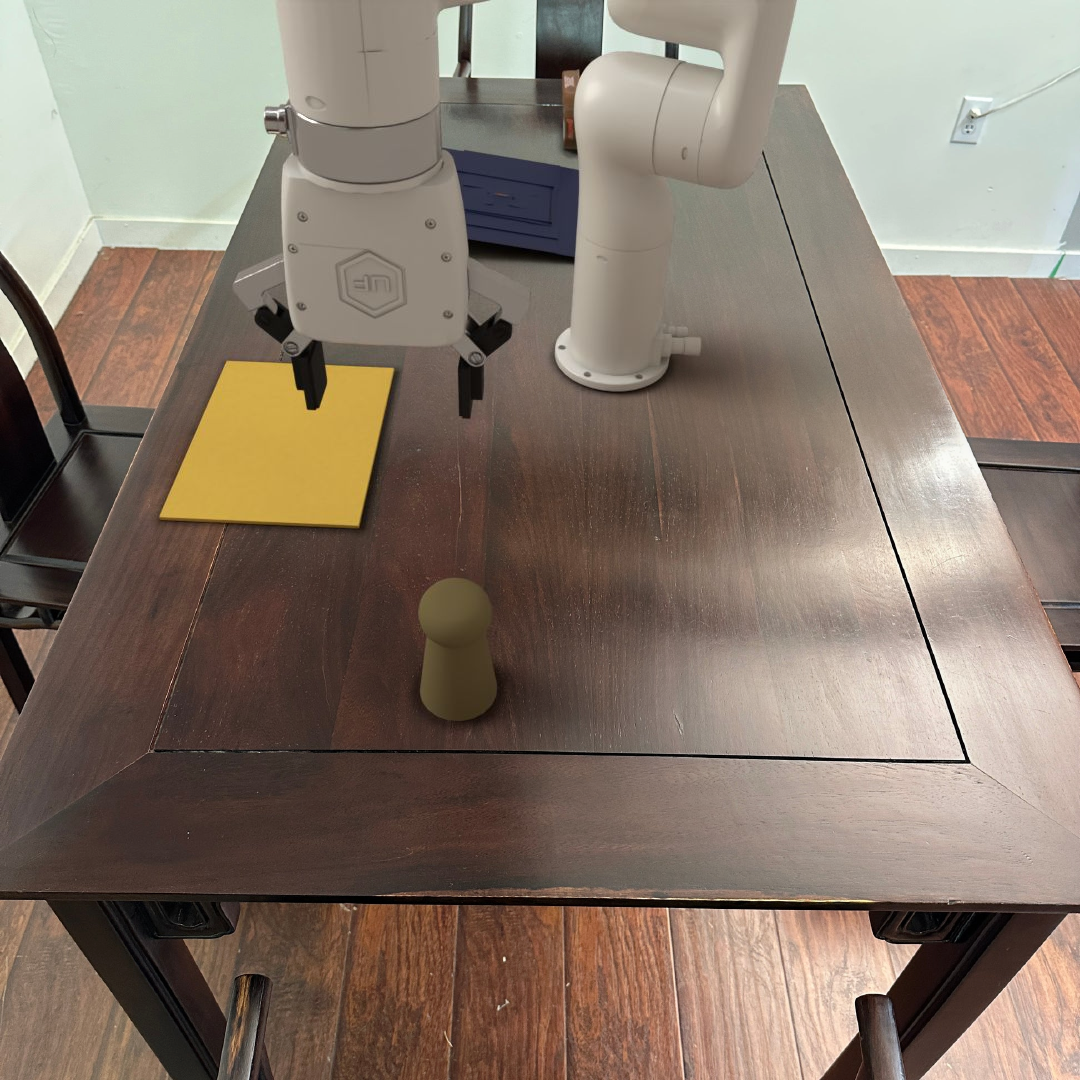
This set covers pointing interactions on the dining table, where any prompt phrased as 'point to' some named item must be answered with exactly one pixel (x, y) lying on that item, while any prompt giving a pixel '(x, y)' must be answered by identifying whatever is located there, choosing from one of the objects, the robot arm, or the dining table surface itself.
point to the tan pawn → (456, 650)
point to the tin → (569, 107)
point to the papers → (518, 201)
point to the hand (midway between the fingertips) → (392, 401)
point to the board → (282, 449)
